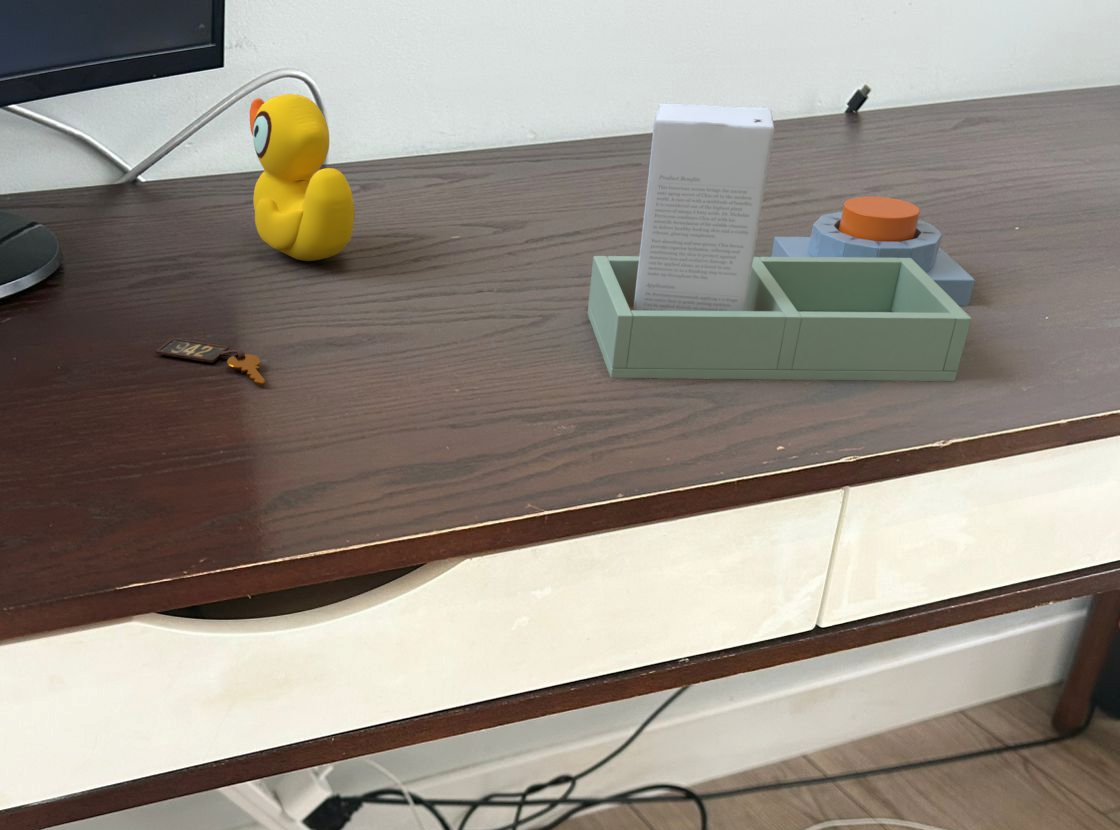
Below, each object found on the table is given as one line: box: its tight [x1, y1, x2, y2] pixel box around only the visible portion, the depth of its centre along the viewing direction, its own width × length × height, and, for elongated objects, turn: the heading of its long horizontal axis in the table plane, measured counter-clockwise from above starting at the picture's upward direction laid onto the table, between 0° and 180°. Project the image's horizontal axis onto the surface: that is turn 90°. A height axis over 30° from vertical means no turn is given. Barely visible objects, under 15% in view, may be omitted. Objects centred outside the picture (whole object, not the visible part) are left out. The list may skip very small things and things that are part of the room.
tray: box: [587, 255, 972, 382], centre depth 77 cm, size 18×10×4 cm, turn 88°
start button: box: [839, 196, 921, 242], centre depth 84 cm, size 4×4×2 cm
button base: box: [770, 210, 976, 307], centre depth 85 cm, size 10×8×4 cm
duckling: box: [249, 93, 356, 262], centre depth 89 cm, size 11×5×10 cm, turn 29°
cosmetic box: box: [633, 102, 775, 311], centre depth 74 cm, size 6×4×12 cm
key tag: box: [155, 337, 266, 386], centre depth 76 cm, size 8×3×1 cm, turn 53°
